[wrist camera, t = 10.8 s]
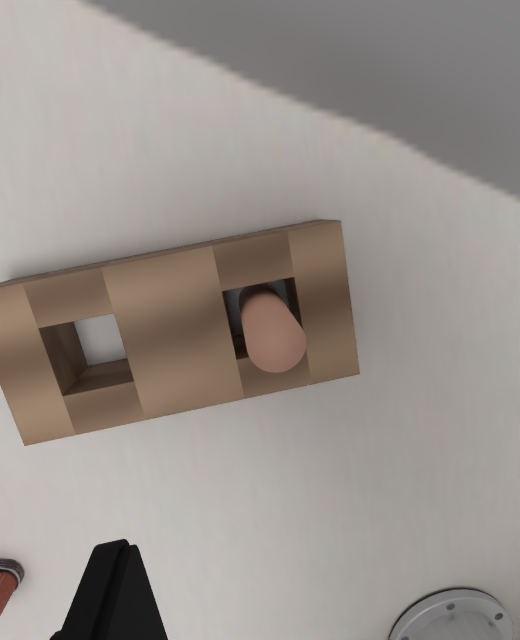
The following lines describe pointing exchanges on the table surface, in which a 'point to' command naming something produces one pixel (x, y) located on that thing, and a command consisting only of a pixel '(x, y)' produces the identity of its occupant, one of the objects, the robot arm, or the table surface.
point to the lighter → (9, 579)
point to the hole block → (169, 330)
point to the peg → (270, 329)
